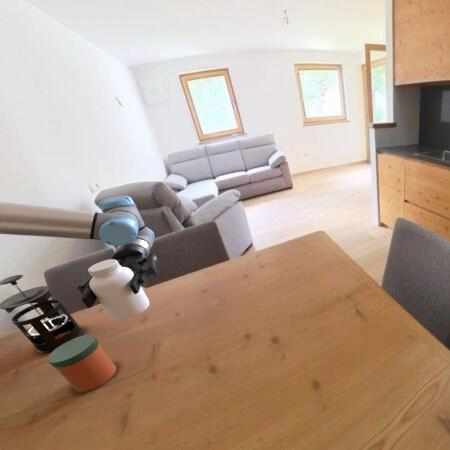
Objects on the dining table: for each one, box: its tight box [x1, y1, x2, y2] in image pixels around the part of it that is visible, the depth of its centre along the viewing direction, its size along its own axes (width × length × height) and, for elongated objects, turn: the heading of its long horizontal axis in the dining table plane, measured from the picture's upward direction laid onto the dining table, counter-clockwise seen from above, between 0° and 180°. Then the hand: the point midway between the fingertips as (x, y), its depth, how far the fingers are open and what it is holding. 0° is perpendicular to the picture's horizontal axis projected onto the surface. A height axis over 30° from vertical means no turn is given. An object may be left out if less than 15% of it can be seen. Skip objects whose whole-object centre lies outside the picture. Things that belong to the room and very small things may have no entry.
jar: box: [54, 343, 117, 393], centre depth 69 cm, size 8×8×10 cm
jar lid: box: [47, 334, 100, 369], centre depth 67 cm, size 8×8×2 cm
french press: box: [0, 274, 85, 355], centre depth 78 cm, size 12×9×23 cm
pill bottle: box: [87, 258, 150, 322], centre depth 71 cm, size 8×8×15 cm
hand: (111, 296), depth 67 cm, fingers closed on pill bottle, 8 cm apart
